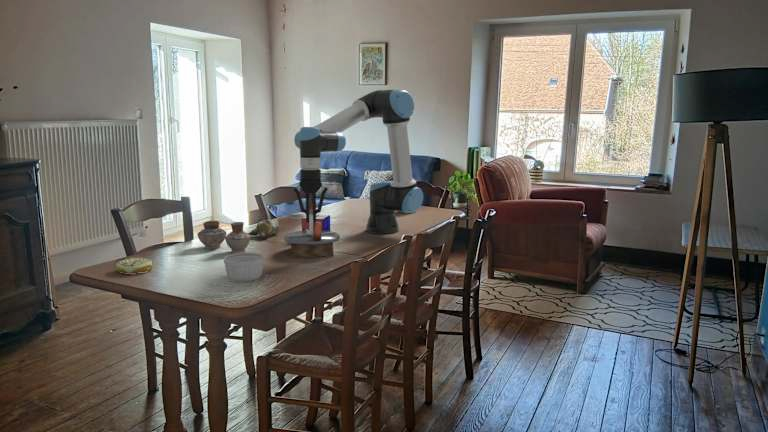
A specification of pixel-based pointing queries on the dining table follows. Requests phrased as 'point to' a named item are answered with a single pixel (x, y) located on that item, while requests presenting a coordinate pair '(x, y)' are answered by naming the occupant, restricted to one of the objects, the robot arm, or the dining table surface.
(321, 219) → the puzzle cube
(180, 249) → the dining table surface
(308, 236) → the handwheel
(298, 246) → the wheel base
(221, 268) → the dining table surface
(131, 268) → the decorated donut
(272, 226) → the ceramic sculpture
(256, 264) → the ramekin
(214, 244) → the pottery
